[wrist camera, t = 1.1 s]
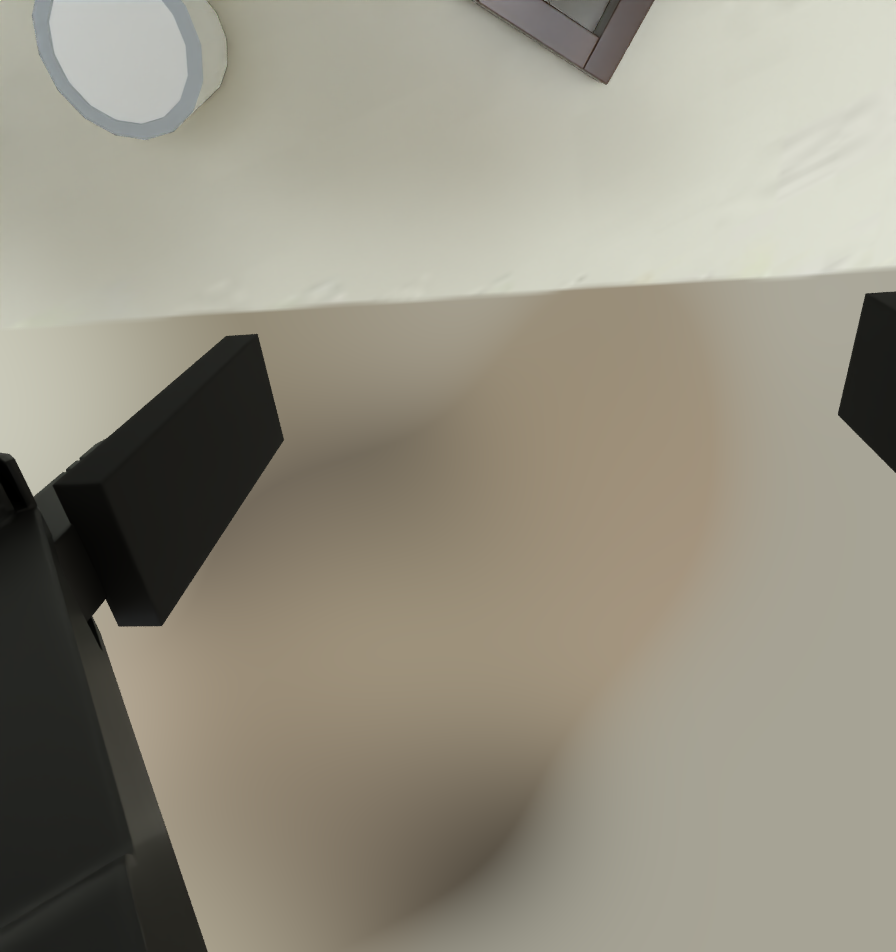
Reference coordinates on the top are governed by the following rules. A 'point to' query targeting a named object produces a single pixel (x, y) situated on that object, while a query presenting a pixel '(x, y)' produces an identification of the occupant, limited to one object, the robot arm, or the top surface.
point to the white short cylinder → (132, 59)
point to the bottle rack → (576, 31)
